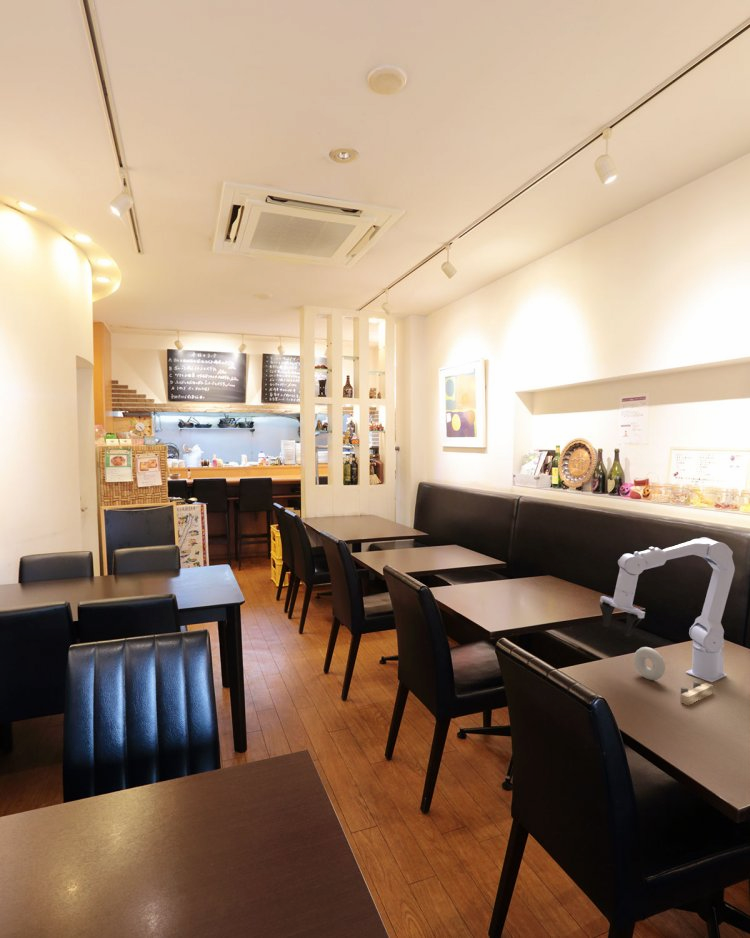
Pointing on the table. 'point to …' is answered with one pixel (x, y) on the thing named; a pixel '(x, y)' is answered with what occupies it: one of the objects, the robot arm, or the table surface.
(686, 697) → the locator
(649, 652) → the donut
